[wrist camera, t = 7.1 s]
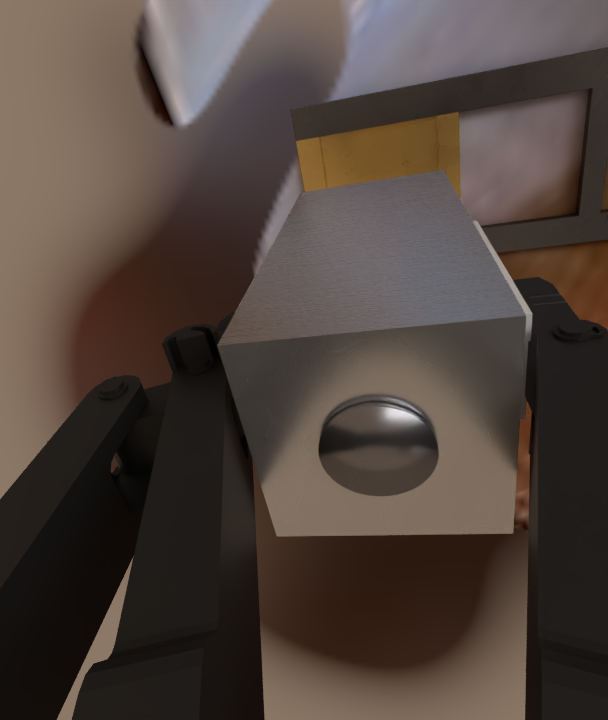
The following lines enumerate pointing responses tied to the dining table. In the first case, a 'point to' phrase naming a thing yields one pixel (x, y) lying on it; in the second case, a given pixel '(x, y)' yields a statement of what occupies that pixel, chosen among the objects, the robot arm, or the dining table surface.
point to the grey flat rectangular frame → (441, 139)
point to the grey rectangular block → (380, 366)
